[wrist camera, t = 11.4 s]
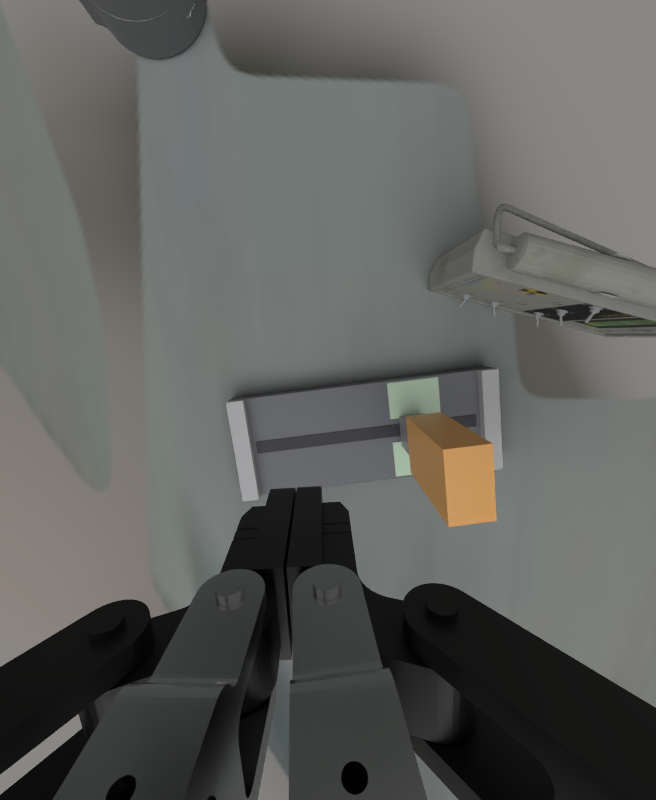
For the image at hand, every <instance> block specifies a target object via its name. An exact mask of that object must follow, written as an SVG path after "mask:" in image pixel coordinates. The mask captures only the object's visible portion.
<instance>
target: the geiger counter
mask: <svg viewBox="0 0 656 800" xmlns="http://www.w3.org/2000/svg"><path fill="white" fill-rule="evenodd" d="M503 211H507V212H510V213H512V214H514V215H516V216H519V217H521V218H523V219H525V220H527V221H530V222H532V223H534V224H537V225H539V226H541V227H544V228H546V229H548V230H550V231H552V232H555V233H557V234H559V235H562V236H564V237H566V238H568V239H571V240H573V241H576V242H578V243H580V244H583V245H585V246H587V247H589V248H591V249H594V250H596V251H598V252H601V253H598V252H595V251H591V250H587V249H584V248H580V247H577V246H573V245H569V244H565V243H562V242H558V241H555V240H551V239H547V238H544V237H540V236H536V235H533V234H529V233H522V234H521V235H520V236H519V237H516V236H512V235H509V234H505V233H501V232H500V224H501V216H502V212H503ZM602 253H603V254H602ZM632 258H633V256H631V255H629V254H625V253H617V252H615V251H612V250H610V249H608V248H606V247H604V246H601V245H599V244H597V243H594V242H592V241H590V240H588V239H585V238H583V237H581V236H579V235H576V234H574V233H572V232H570V231H567V230H565V229H562V228H560V227H558V226H556V225H553V224H551V223H549V222H547V221H545V220H542V219H540V218H538V217H535V216H533V215H531V214H529V213H526V212H524V211H522V210H520V209H517V208H515V207H513V206H511V205H507V204H501V205H499V206H498V207H497V209H496V213H495V216H494V223H493V230H490V229H487V228H485V229H483V230H482V231H480V232H479V233H477V234H475V235H474V236H472V237H471V238H469V239H468V240H466V241H465V242H463V243H462V244H460V245H458V246H457V247H455V248H454V249H452V250H451V251H449V252H448V253H446V254H445V255H443V256H441V257H440V258H438V259H437V260H436V262H435V264H434V266H433V268H432V270H431V272H430V274H429V286H428V290H429V291H432V292H436V293H440V294H444V295H448V296H452V297H455V298H459V299H463V301H462V302H461V304H460V305H459V308H460V307H461V306H462V305H463V303H464V302H465V301H471V302H475V303H478V304H482V305H486V306H490V307H492V308H493V316H494V317H495V316H496V311H495V308H498V309H502V310H505V311H509V312H513V313H517V314H521V315H525V316H528V317H532V318H536V326H537V327H539V319H540V320H544V321H548V322H552V323H555V324H559V325H560V326H562V325H563V326H567V327H571V328H575V329H578V330H582V331H586V332H590V333H594V334H598V335H602V336H606V337H656V268H653V267H649V266H647V265H644V264H642V263H640V262H637V261H635V260H633V259H632Z"/></svg>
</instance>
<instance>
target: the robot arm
mask: <svg viewBox="0 0 656 800" xmlns="http://www.w3.org/2000/svg"><path fill="white" fill-rule="evenodd" d="M79 1H80V2H81V3H82V5H83V6H84V8H85V9H86V10H87V12H88V13H89V14H90V16H91V17H92V19H93V20H94V22H95V23H96V24H98V25H102V26H104V27H106V28H108V29H109V30H110V31H111V33H112V34H113V35H114V36H115V37H116V39H117V40H118V41H119V42H120V43H121V44H122V45H124V46H125V47H126V48H127V49H128V50H130V51H132V52H134V53H136V54H137V55H140V56H143V57H147V58H153V59H163V58H168V57H172V56H174V55H177V54H179V53H181V52H182V51H184V50H185V49H186V48H187V47H189V46H190V45H191V44H192V42H193V41H194V40H195V39H196V37H197V36H198V34H199V32H200V30H201V28H202V26H203V22H204V18H205V14H206V2H207V0H79ZM233 539H234V540H233V541H232V543H231V546H230V549H229V551H228V554H227V556H226V559H225V562H224V564H223V567H222V570H221V572H220V574H217V575H215V576H213V577H212V578H210V579H209V580H207V581H206V582H205V583H204V584H203V585H202V586H201V587H200V588H199V590H198V591H197V593H196V595H195V597H194V598H193V600H192V602H191V604H190V605H189V606H187V607H185V608H182V609H179V610H176V611H173V612H170V613H167V614H164V615H160V616H157V617H153V618H151V617H150V612H149V609H148V607H147V606H146V604H144V603H143V602H141V601H137V600H121V601H116V602H112V603H110V604H107V605H104V606H102V607H100V608H98V609H96V610H94V611H92V612H91V613H89V614H87V615H86V616H84V617H82V618H81V619H79V620H77V621H76V622H74V623H72V624H71V625H69V626H67V627H66V628H64V629H63V630H61V631H59V632H57V633H56V634H54V635H52V636H51V637H49V638H48V639H46V640H44V641H43V642H41V643H39V644H38V645H36V646H34V647H33V648H31V649H29V650H28V651H26V652H24V653H23V654H21V655H19V656H18V657H16V658H14V659H13V660H11V661H9V662H8V663H6V664H5V665H3V666H2V667H0V774H1V773H3V772H4V771H5V770H7V769H8V768H9V767H10V766H12V765H13V764H14V763H16V762H17V761H18V760H19V759H21V758H22V757H23V756H24V755H26V754H27V753H28V752H30V751H31V750H32V749H33V748H35V747H36V746H37V745H39V744H40V743H41V742H43V741H44V740H45V739H46V738H48V737H49V736H50V735H51V734H53V733H54V732H55V731H57V730H58V729H59V728H60V727H62V726H63V725H64V724H66V723H67V722H68V721H70V720H71V719H72V718H73V717H75V716H76V715H77V714H79V717H80V721H81V724H82V729H81V730H80V731H78V732H77V733H76V734H75V735H74V736H72V737H71V738H70V739H69V740H67V741H66V742H65V743H64V744H63V745H61V746H60V747H59V748H58V749H56V750H55V751H54V752H53V753H51V754H50V755H49V756H48V757H47V758H45V759H44V760H43V761H42V762H40V763H39V764H38V765H37V766H35V767H34V768H33V769H32V770H30V771H29V772H28V773H27V774H26V775H24V776H23V777H22V778H21V779H19V780H18V781H17V782H16V783H14V784H13V785H12V786H11V787H10V788H8V789H7V790H6V791H5V792H3V793H2V794H1V795H0V800H258V794H259V789H260V783H261V778H262V773H263V767H264V762H265V756H266V751H267V746H268V740H269V735H270V730H271V724H272V719H273V714H274V708H275V703H276V685H275V684H276V681H277V675H278V666H279V660H291V658H292V646H293V680H291V681H290V702H289V800H427V796H426V793H425V789H424V786H423V782H422V779H421V775H420V771H419V768H418V764H417V761H416V757H415V753H416V754H417V755H418V756H419V757H420V758H421V759H422V760H423V761H424V763H425V764H426V765H427V766H428V767H429V768H430V769H431V770H432V771H433V772H434V773H435V774H436V776H437V777H438V778H439V779H440V780H441V781H442V782H443V783H444V784H445V785H446V786H447V788H448V789H449V790H450V791H451V792H452V793H453V794H454V795H455V796H456V797H457V798H458V799H459V800H656V708H655V707H653V706H652V705H650V704H648V703H647V702H645V701H643V700H642V699H640V698H638V697H637V696H635V695H633V694H632V693H630V692H628V691H627V690H625V689H623V688H622V687H620V686H618V685H617V684H615V683H613V682H612V681H610V680H608V679H607V678H605V677H604V676H602V675H600V674H599V673H597V672H595V671H594V670H592V669H590V668H589V667H587V666H585V665H584V664H582V663H580V662H579V661H577V660H575V659H574V658H572V657H570V656H569V655H567V654H565V653H564V652H562V651H560V650H559V649H557V648H555V647H554V646H552V645H550V644H549V643H547V642H545V641H544V640H542V639H540V638H539V637H537V636H535V635H534V634H532V633H530V632H529V631H527V630H525V629H524V628H522V627H521V626H519V625H517V624H516V623H514V622H512V621H511V620H509V619H507V618H506V617H504V616H502V615H501V614H499V613H497V612H496V611H494V610H492V609H491V608H489V607H487V606H486V605H484V604H482V603H481V602H479V601H477V600H476V599H474V598H472V597H471V596H469V595H467V594H466V593H464V592H462V591H460V590H459V589H457V588H454V587H452V586H448V585H444V584H438V583H430V584H423V585H419V586H417V587H415V588H413V589H412V590H410V591H409V592H408V593H407V595H406V596H405V598H404V601H403V600H398V599H393V598H389V597H385V596H382V595H379V594H377V593H375V592H373V591H371V590H370V589H369V588H367V587H366V586H365V585H364V584H363V583H362V582H361V580H360V578H359V576H358V573H357V568H356V561H355V554H354V547H353V540H352V534H351V526H350V519H349V511H348V510H347V509H346V508H345V507H344V506H343V505H342V504H341V502H328V503H322V488H321V486H313V487H297V491H296V488H278V489H270V492H269V496H268V499H267V503H266V506H258V507H252V508H251V509H250V510H249V511H248V512H246V513H245V514H244V515H243V516H242V517H241V520H240V523H239V525H238V528H237V531H236V533H235V536H234V538H233ZM414 751H415V753H414Z"/></svg>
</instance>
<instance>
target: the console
mask: <svg viewBox="0 0 656 800" xmlns="http://www.w3.org/2000/svg"><path fill="white" fill-rule="evenodd" d="M226 406H227V412H228V418H229V423H230V429H231V435H232V441H233V447H234V452H235V458H236V464H237V470H238V476H239V482H240V487H241V493H242V499H243V501H251V500H259V498H260V495H266V494H269V492H270V489H278V488H296V491H297V487H313V486H321V488H322V487H330V486H338V485H346V484H354V483H361V482H369V481H377V480H385V479H393V478H401V477H409V476H413V475H412V473H411V470H410V458H409V455H408V453H407V452H406V451H405V449H404V448H403V447H402V444H401V433H400V422H399V416H405V415H413V414H421V413H424V414H429V413H437V412H442V413H443V414H445V415H447V416H448V417H450V418H452V419H453V420H455V421H456V422H458V423H460V424H461V425H463V426H465V427H466V428H468V429H470V430H471V431H473V432H475V433H476V434H478V435H480V436H481V437H483V438H485V439H486V440H488V441H490V442H491V443H493V456H494V470H497V469H503V459H502V437H501V414H500V391H499V369H497V368H491V367H485V366H484V367H476V368H468V369H460V370H452V371H444V372H436V373H428V374H420V375H412V376H404V377H396V378H388V379H380V380H372V381H364V382H356V383H347V384H339V385H331V386H323V387H315V388H307V389H299V390H291V391H283V392H275V393H267V394H259V395H251V396H243V397H235V398H232V399H231V400H229V401H228V402H226Z"/></svg>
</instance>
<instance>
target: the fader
mask: <svg viewBox="0 0 656 800" xmlns="http://www.w3.org/2000/svg"><path fill="white" fill-rule="evenodd" d="M399 422H400V433H401V444H402V447H403V448H404V449H405V451H406V452H407V453H408V455H409V458H410V470H411V473H412V475H413V476H414V477H415V479H416V480H417V482H418V483H419V485H420V486H421V488H422V489H423V491H424V492H425V493H426V495H427V496H428V498H429V499H430V501H431V502H432V504H433V505H434V507H435V508H436V509H437V511H438V512H439V514H440V515H441V517H442V518H443V520H444V521H445V522H446V524H447V525H448V527H453V526H461V525H469V524H476V523H484V522H492V521H497V518H496V497H495V477H494V456H493V443H491V442H490V441H488V440H486V439H485V438H483V437H481V436H480V435H478V434H476V433H475V432H473V431H471V430H470V429H468V428H466V427H465V426H463V425H461V424H460V423H458V422H456V421H455V420H453V419H452V418H450V417H448V416H447V415H445V414H443V413H442V412H437V413H429V414H424V413H421V414H413V415H405V416H399Z"/></svg>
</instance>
